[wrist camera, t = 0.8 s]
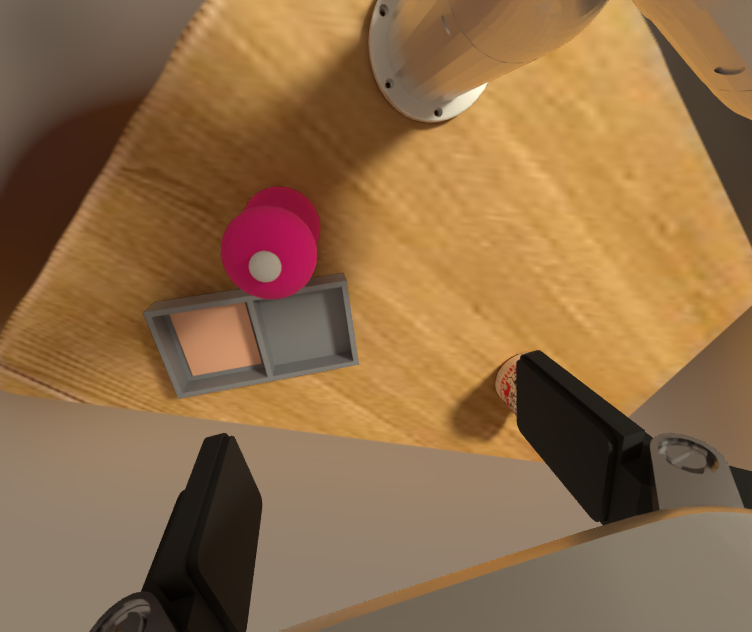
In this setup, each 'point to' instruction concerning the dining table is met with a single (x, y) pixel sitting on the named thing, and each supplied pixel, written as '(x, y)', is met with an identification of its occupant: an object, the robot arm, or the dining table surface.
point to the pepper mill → (272, 244)
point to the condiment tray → (253, 336)
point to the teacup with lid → (508, 383)
